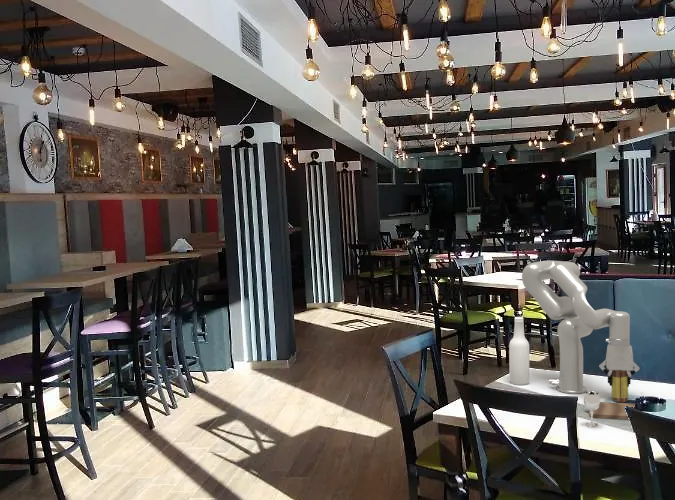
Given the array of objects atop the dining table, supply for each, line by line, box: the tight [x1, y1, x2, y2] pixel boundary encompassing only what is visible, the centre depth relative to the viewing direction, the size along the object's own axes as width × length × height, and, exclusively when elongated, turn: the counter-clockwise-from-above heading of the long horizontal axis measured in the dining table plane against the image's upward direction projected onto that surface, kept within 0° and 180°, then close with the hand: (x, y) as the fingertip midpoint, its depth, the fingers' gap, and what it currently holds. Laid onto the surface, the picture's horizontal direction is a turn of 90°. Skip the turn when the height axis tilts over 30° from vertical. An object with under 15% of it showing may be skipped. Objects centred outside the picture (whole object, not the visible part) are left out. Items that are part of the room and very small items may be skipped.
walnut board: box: [587, 401, 636, 421], centre depth 258 cm, size 20×16×2 cm
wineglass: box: [583, 390, 601, 428], centre depth 245 cm, size 6×6×12 cm
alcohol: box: [508, 316, 531, 386], centre depth 301 cm, size 9×9×30 cm
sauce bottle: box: [611, 370, 629, 403], centre depth 272 cm, size 7×6×20 cm
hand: (619, 385), depth 272 cm, fingers closed on sauce bottle, 5 cm apart
